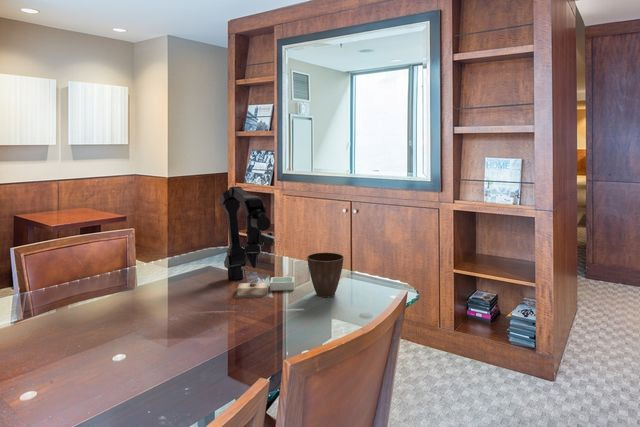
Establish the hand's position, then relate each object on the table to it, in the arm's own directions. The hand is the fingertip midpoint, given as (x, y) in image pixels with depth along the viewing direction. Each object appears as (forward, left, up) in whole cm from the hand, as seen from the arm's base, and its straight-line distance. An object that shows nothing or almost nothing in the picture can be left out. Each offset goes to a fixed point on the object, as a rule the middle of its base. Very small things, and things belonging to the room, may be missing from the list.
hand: (255, 265), depth 196 cm
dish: (+11, +6, -12) cm, 17 cm away
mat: (-1, 0, -12) cm, 12 cm away
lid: (-1, 0, -12) cm, 12 cm away
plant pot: (+29, -3, -12) cm, 31 cm away
